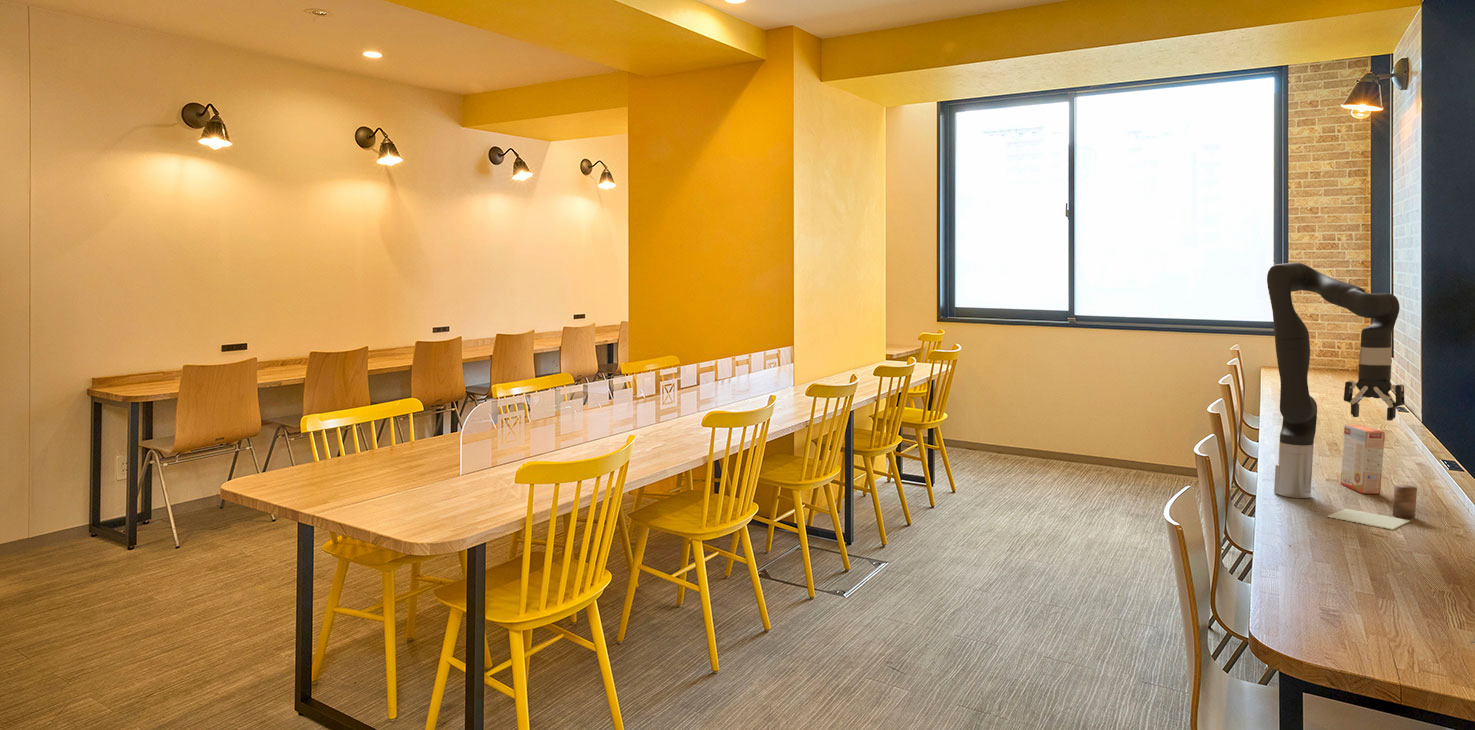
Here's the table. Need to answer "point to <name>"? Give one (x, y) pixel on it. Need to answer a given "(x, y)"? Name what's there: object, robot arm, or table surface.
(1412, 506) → the walnut cylinder
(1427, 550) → the table surface
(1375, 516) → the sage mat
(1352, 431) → the cracker box
